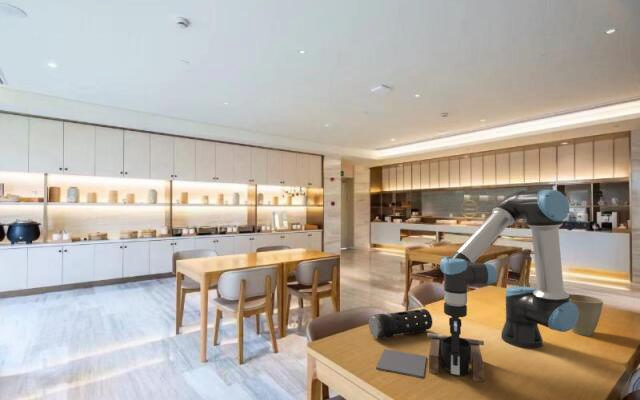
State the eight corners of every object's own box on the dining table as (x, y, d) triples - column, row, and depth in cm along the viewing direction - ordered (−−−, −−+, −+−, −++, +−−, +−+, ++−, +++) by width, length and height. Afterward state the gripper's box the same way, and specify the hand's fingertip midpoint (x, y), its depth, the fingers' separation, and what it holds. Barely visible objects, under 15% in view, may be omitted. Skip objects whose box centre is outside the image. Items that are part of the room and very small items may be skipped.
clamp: (483, 360, 124) (483, 340, 124) (488, 383, 108) (488, 359, 108) (427, 351, 131) (427, 332, 131) (424, 371, 115) (424, 349, 115)
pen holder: (437, 363, 121) (437, 335, 121) (463, 363, 121) (463, 336, 121) (446, 376, 112) (446, 347, 112) (474, 377, 111) (474, 347, 111)
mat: (426, 357, 125) (426, 356, 125) (423, 378, 111) (423, 376, 111) (384, 350, 131) (384, 348, 131) (376, 369, 116) (376, 367, 116)
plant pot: (604, 332, 152) (603, 298, 152) (602, 342, 141) (602, 304, 142) (564, 324, 162) (564, 291, 163) (559, 332, 152) (559, 298, 152)
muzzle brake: (433, 335, 148) (433, 311, 148) (379, 344, 138) (379, 319, 138) (419, 327, 157) (419, 305, 157) (367, 335, 147) (367, 312, 147)
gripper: (444, 294, 128) (444, 352, 128) (443, 310, 108) (443, 380, 108) (465, 296, 125) (465, 356, 125) (468, 313, 105) (468, 385, 105)
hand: (455, 367), depth 116 cm, fingers closed on pen holder, 9 cm apart
